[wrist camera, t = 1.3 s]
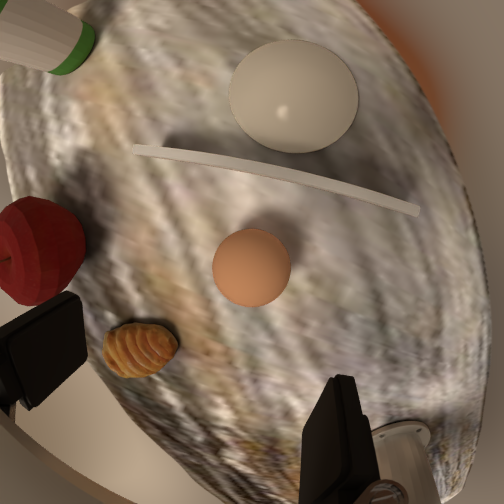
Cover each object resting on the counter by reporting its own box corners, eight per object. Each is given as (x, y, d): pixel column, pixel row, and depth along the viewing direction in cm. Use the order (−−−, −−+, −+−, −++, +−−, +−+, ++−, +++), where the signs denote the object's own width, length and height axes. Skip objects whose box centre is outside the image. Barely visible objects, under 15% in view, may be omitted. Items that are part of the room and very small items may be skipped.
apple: (80, 299, 29) (13, 339, 18) (38, 236, 28) (-30, 257, 17) (121, 241, 26) (36, 273, 15) (71, 172, 25) (-11, 176, 14)
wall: (399, 202, 21) (420, 206, 17) (397, 211, 21) (417, 217, 17) (159, 149, 23) (133, 144, 19) (157, 158, 23) (131, 153, 19)
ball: (303, 272, 24) (305, 298, 18) (244, 301, 25) (230, 332, 19) (270, 211, 23) (261, 219, 17) (211, 244, 25) (186, 262, 19)
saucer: (380, 120, 20) (382, 119, 19) (270, 176, 22) (270, 176, 22) (312, 27, 18) (312, 24, 18) (209, 78, 21) (207, 76, 20)
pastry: (159, 305, 27) (142, 321, 24) (192, 356, 28) (180, 377, 24) (107, 329, 29) (89, 344, 26) (136, 373, 30) (122, 390, 27)
